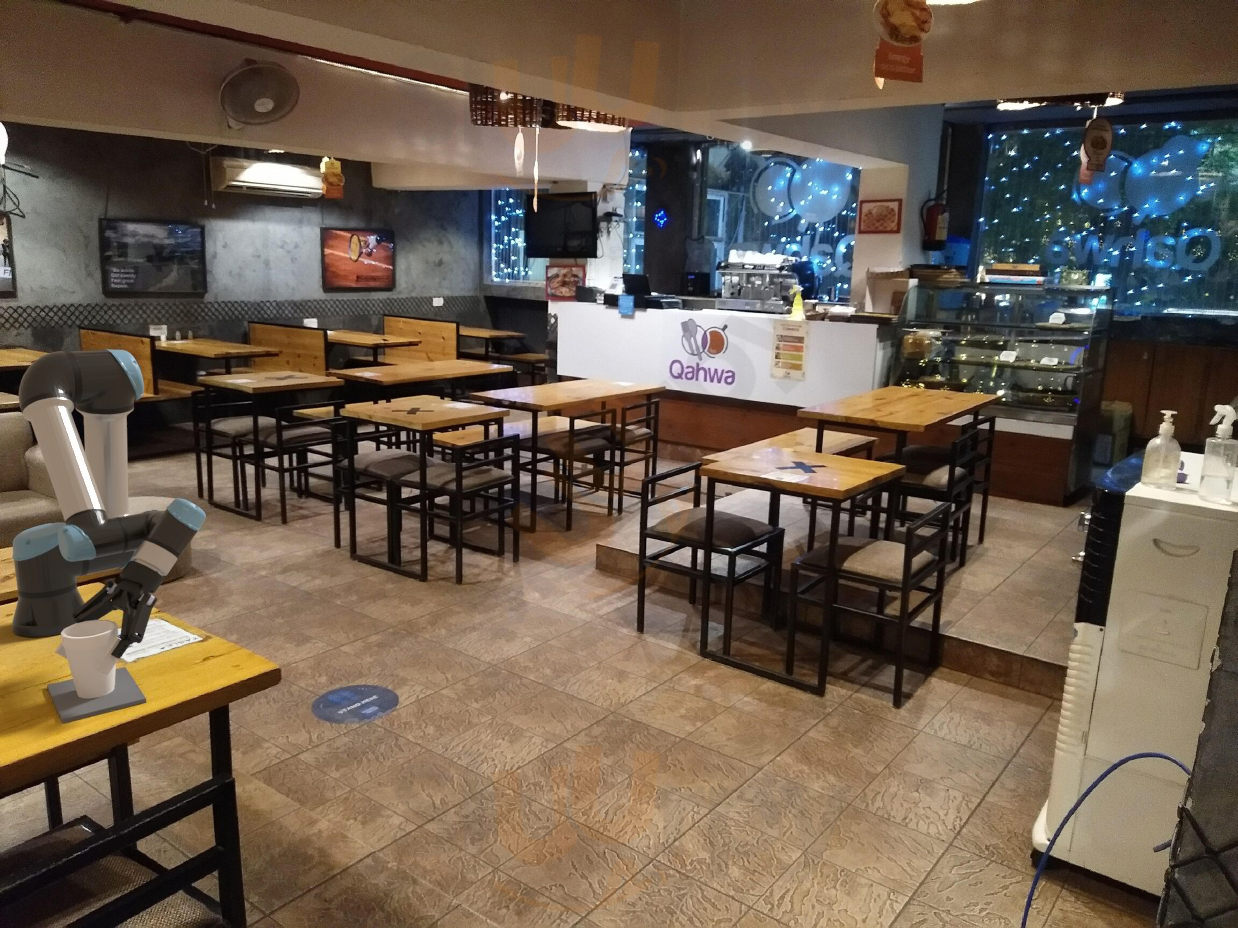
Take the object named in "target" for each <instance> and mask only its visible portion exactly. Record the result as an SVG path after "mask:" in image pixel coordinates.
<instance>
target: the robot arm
mask: <svg viewBox="0 0 1238 928" xmlns="http://www.w3.org/2000/svg"><path fill="white" fill-rule="evenodd" d="M144 392H145V383H144V379H143V375H142V371H141V368H140V366H139V363H138V362H137V360H136V359H135V357H134V356H133V355H132V353H130V352H129V351H127V350H125V349H109V348H105V349H92V350H90V349H88V350H74V351H71V350H70V351H53V352H49V353H46V354H43V355H42V356H40V357H39V358H37V359H36V360H34V362H32V363H31V364H30V365H29V366H28V368H27V369H26V371H25V373H24V374H23V376H22V379H21V381H20V384H19V390H18V404H19V407H20V411H21V415H22V417H23V418H24V420H26V421H29V422H30V423H31V426H32V429H33V432H34V436H35V438H36V441H37V444H38V446H39V449H40V450H39V451H40V453H41V456H42V458H43V460H44V461H43V462H44V464H45V467H46V471H47V473H48V475H49V479H50V481H51V484H52V489H53V491H54V493H55V497H56V499H57V502H58V505H59V508H60V511H61V514H62V516H63V520H64V522H61V521H60V522H59V521H58V522H53V523H45V524H40V525H37V526H34V527H30V528H28V529H26V530H23V531H21V532H20V533H18V534H17V535H16V536H15V537H14V539H13V541H12V559H13V563H14V573H15V580H16V581H15V582H16V587H17V596H18V599H17V602H16V607H15V610H14V614H13V618H12V623H11V624H12V631H13V633H14V635H17V636H20V637H26V638H27V637H28V638H40V637H49V636H56V635H61V632H62V631H63V630H64V629H65V628H67V627H69V626H71V625H73V624H77V623H81V622H84V621H92V620H101V618H104V617H105V616H106V615H108V614H109V613H111V612H113V611H117V610H119V611H122V618H121V619H122V620H121V630H120V634H118V636H117V637H118V638H115V640H114V641H113V643H112V644H111V645H110V647H109V648H108V650H107V651H106V653H105V654H104V655H103V657H102V658H101V660H100V661H99V663H98V664H97V666H96V667H95V668H94V669H96V670H98V671H100V672H102V673H104V674H106V675H108V674H109V673H110V671H111V670H112V668H113V667H114V665H115V664H116V665H117V662H118V661H119V660H120V659H121V658H122V657H123V656H124V654H125V652H126V651H127V649H128V648H129V646H130V645H133V644H134V643H137V644H142V642H143V639H144V637H145V633H146V630H147V627H148V623H149V621H150V617H151V614H152V610H153V608H154V607H155V605H156V603H157V601H158V597H156V596H155V595H153V594H154V593H156V592H157V591H158V588H160V586H161V585H162V583H163V582H164V577H165V576H168V574H169V572H170V571H171V570H172V568H173V567H174V565H175V564H176V562H177V561H178V560H179V559H180V557H181V556H182V555H183V553H184V552H185V550H186V549H187V548H188V546H189V545H190V543H191V541H192V540H193V539H194V537H195V536H196V534H197V533H198V532H199V531H200V530H201V527H202V525H203V524H204V522H205V520H206V517H207V514H206V513H205V511H204V510H203V509H202V508H201V507H199V506H198V505H197V504H195V503H194V502H192V501H189V500H187V499H184V498H179V497H177V498H174V499H173V500H172V502H171V503H170V504H169V505H167V506H166V509H165V510H156V509H152V510H145V511H143V512H140V513H135V512H134V511H133V510H131V509H130V508H129V483H128V482H129V477H128V476H129V472H128V471H129V469H128V466H129V465H128V427H127V425H128V422H127V417H128V415H129V414H130V413H131V412H133V411H134V409H135V401H137V400H138V401H139V399H141V398H143V396H144ZM74 409H75V410H76V411H77V412H78V413H80V414H81V415H82V416H83V426H84V427H83V428H84V429H83V430H84V432H83V433H84V446H83V443H82V440H81V438H80V434H79V432H78V429H77V427H76V426H77V425H76V424H75V421H74V418H73V417H74V416H73V415H72V412H73V411H74ZM116 569H117V570H120V569H121V571H120V573H119V577H120V578H121V580H120V582H119V583H118V584H117V583H115V582H114V581H112V580H108V581H106V583H105V585H104V586H103V587H102V588H101V589H100V590H98V592H97V593H94V595H93V596H91V598H89V599H88V600H87V601H86V602H85V601H84V599H83V598H82V595H81V593H80V592H79V589H78V581H77V578H78V577H82V576H88V575H92V574H98V573H102V572H108V571H113V570H116ZM163 576H164V577H163ZM54 653H55V654H57V655H59V656H61V657H63V658H64V659H67V656H66V652H65V648H64V647H63V645H62V642H61V643H60V644H59V645H58V647H57V648H56V649H55V651H54Z"/></svg>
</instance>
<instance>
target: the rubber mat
mask: <svg viewBox="0 0 1238 928" xmlns="http://www.w3.org/2000/svg"><path fill="white" fill-rule="evenodd" d="M46 689H47V691H48V693H49V697H50V698H51V701H52V702H53V705H54V707H55V709H56V711H57V715H58V717H59V718H60V720H61V722H62V724H66V723H70V722H75V721H78V720H81V719H86V718H89V717H93V716H98V715H101V714H106V713H110V712H113V711H117V710H121V709H124V708H129V707H134V706H137V705H140V704H144V703H147V698H146V696H145V694H144V693H143V691H142V690H141V688H140V687H139V685H138V683H137V682H136V681H135V679H134V677H133V676H132V674H131V673H130V671H129V670H128V669H127V667H126V666H122V667H118V668H116V671H115V685H114V690H113V691H112V692H110V693H109V694H107V695H104V696H101V697H96V698H81V697H79V696H78V695H77V691H76V688H75V684H74V681H73V678H71V679H67V680H62V681H58V682H57V681H56V682H52V683H49V684H46Z"/></svg>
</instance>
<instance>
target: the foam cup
mask: <svg viewBox="0 0 1238 928" xmlns="http://www.w3.org/2000/svg"><path fill="white" fill-rule="evenodd" d="M118 627H119V626H118V623H116V621H113V620H109V619H98V620H92V621H84V622H81V623H77V624H73V625H71V626H69V627H67V628H65V629H64V630H63V631H62V632H61V634H60V638H61V643H62V645H63V647H64V648H65V652H66V656H67V658H66V659H67V662H68V667H69V671H70V673H71V677H72V679H73V681H74V684H75V688H76V691H77V695H78V696H79V697H81V698H96V697H101V696H104V695H107V694H109V693H110V692H112V691H113V690H114V685H115V671H116V669H117V667H116V666H117V663H116V664H115V665H114V667H113V668H112V670H111V671H110V673H109V674H108V675H106V674H104V673H102V672H100V671H98V670H96V669H94V668H95V667H96V666H97V664H98V663H99V661H100V660H101V658H102V657H103V655H104V654H105V653H106V651H107V650H108V648H109V647H110V645H111V644H112V643H113V641H114V640H115V638H118V637H117V636H119V629H118Z"/></svg>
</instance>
